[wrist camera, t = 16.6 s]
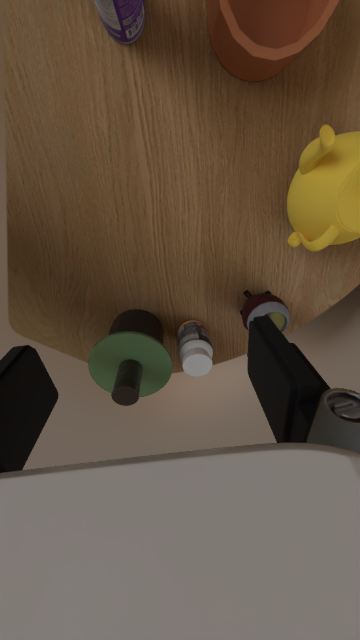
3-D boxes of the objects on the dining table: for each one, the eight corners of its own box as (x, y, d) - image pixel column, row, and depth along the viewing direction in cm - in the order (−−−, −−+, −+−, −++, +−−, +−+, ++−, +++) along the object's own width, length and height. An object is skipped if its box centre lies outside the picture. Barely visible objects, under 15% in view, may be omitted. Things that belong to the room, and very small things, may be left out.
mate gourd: (281, 303, 43) (330, 354, 30) (245, 329, 46) (276, 386, 33) (259, 274, 41) (302, 317, 28) (222, 303, 43) (246, 355, 30)
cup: (100, 328, 44) (86, 359, 37) (139, 299, 42) (132, 325, 34) (136, 360, 48) (130, 394, 41) (173, 334, 46) (174, 366, 38)
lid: (72, 359, 36) (54, 392, 31) (133, 313, 33) (126, 340, 27) (130, 402, 42) (124, 438, 36) (188, 367, 38) (191, 400, 32)
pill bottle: (211, 336, 46) (221, 371, 38) (185, 348, 48) (189, 384, 39) (199, 313, 44) (207, 345, 35) (171, 326, 45) (172, 360, 36)
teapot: (233, 200, 35) (259, 206, 25) (315, 89, 29) (392, 40, 19) (319, 275, 41) (367, 305, 31) (399, 197, 36) (489, 202, 26)
